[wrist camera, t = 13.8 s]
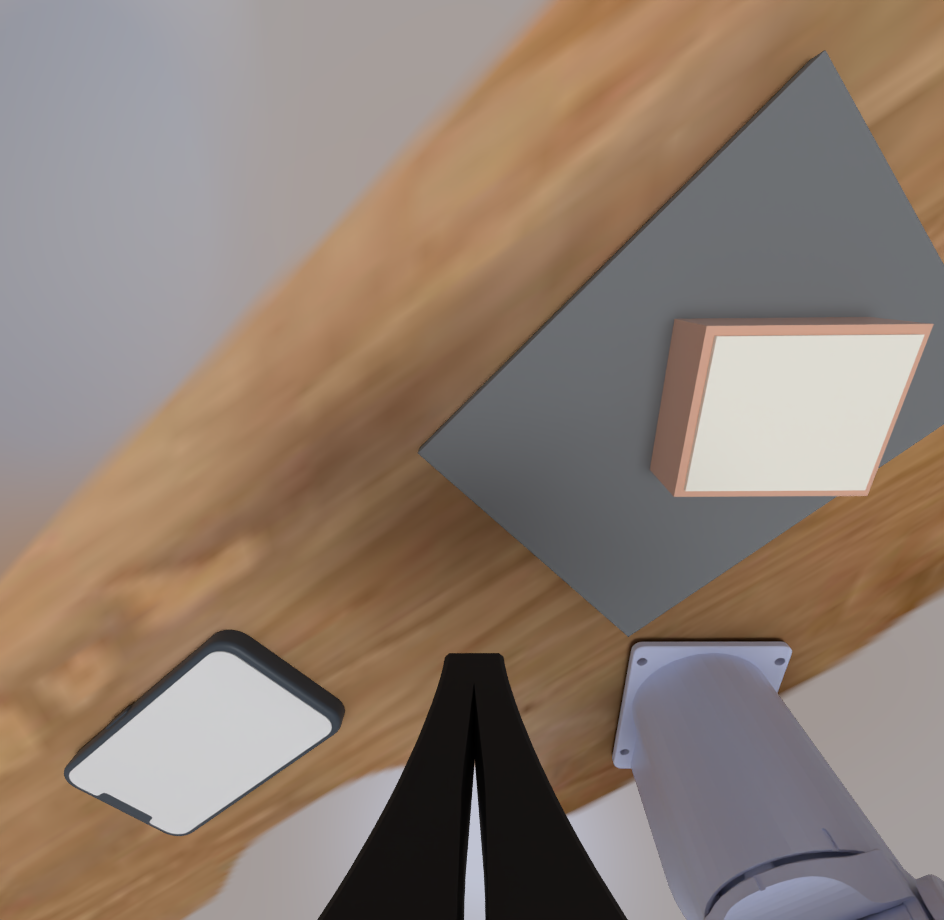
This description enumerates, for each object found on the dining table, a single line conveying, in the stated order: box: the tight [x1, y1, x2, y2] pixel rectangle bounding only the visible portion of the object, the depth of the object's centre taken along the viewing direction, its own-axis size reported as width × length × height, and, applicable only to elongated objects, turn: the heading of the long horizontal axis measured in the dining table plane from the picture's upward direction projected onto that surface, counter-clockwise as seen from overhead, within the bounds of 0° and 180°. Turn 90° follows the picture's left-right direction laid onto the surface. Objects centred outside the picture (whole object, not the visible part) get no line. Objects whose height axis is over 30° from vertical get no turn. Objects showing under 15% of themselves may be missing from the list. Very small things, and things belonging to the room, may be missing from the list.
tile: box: [650, 317, 934, 497], centre depth 16 cm, size 6×3×7 cm
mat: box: [418, 50, 944, 637], centre depth 18 cm, size 18×14×1 cm
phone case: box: [64, 630, 345, 836], centre depth 25 cm, size 9×2×16 cm
